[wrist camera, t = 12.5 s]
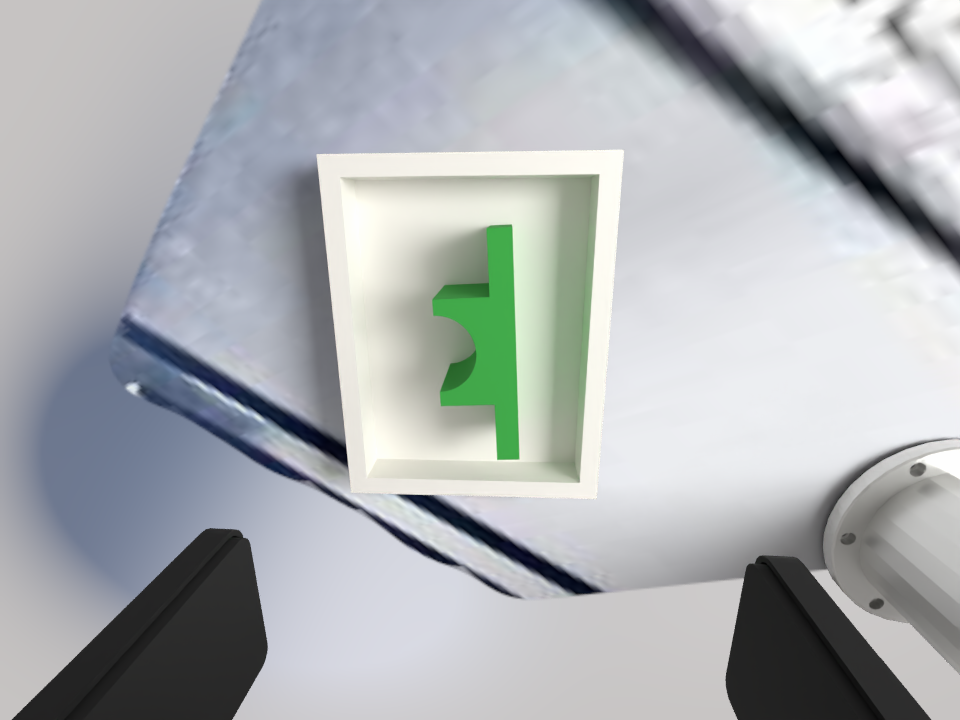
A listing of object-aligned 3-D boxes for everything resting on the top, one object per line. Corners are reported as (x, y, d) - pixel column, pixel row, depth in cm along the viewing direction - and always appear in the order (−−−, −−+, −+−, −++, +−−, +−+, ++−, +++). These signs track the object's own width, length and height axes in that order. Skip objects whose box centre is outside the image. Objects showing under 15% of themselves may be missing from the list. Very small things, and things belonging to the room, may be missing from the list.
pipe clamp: (440, 227, 25) (425, 229, 20) (511, 224, 24) (513, 225, 20) (454, 423, 28) (444, 462, 24) (517, 422, 28) (520, 461, 23)
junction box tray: (610, 157, 24) (623, 149, 21) (587, 471, 29) (596, 499, 26) (338, 160, 25) (316, 154, 22) (366, 466, 30) (351, 492, 27)
